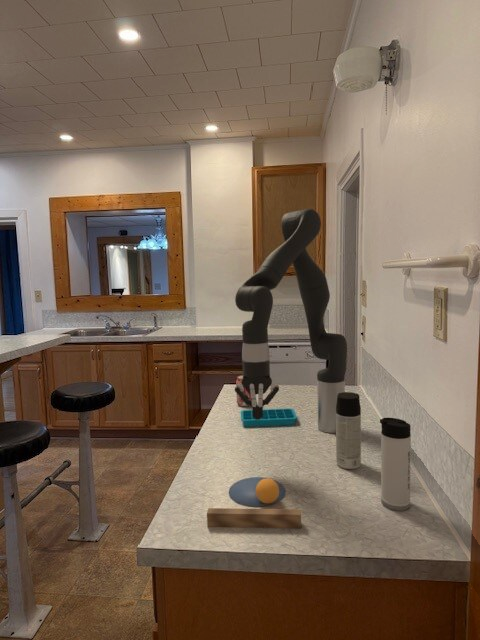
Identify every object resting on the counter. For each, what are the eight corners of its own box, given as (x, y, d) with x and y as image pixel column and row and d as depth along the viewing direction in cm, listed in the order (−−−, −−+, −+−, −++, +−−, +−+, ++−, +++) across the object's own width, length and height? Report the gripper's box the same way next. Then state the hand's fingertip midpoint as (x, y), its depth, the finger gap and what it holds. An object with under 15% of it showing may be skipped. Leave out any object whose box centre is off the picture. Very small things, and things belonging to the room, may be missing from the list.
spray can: (361, 460, 118) (361, 392, 116) (360, 471, 111) (359, 399, 110) (337, 458, 120) (336, 391, 118) (335, 468, 114) (334, 397, 112)
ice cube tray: (240, 417, 159) (240, 410, 159) (293, 415, 159) (293, 408, 159) (241, 428, 148) (241, 420, 147) (297, 426, 148) (297, 418, 148)
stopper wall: (300, 522, 89) (300, 509, 89) (301, 528, 87) (300, 514, 87) (208, 521, 91) (208, 508, 91) (207, 526, 89) (206, 513, 89)
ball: (278, 474, 100) (280, 486, 95) (277, 496, 101) (279, 508, 95) (255, 473, 100) (256, 485, 95) (254, 495, 101) (255, 507, 95)
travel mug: (375, 497, 98) (375, 415, 96) (402, 495, 99) (402, 414, 97) (386, 512, 92) (387, 425, 90) (415, 510, 92) (416, 423, 90)
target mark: (284, 478, 109) (284, 477, 109) (285, 507, 96) (285, 506, 96) (231, 477, 111) (231, 476, 111) (225, 506, 97) (225, 505, 97)
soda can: (252, 407, 170) (251, 378, 169) (235, 407, 171) (234, 378, 170) (254, 402, 177) (254, 374, 176) (238, 402, 178) (237, 374, 177)
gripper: (279, 355, 118) (281, 414, 120) (233, 356, 119) (235, 414, 121) (280, 360, 111) (281, 423, 112) (230, 361, 112) (233, 423, 113)
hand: (257, 418), depth 117 cm, fingers closed
